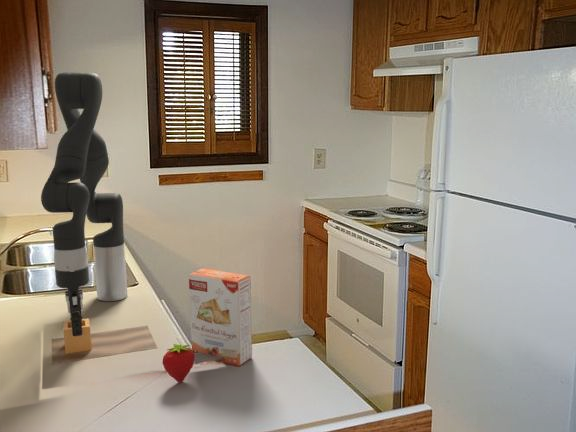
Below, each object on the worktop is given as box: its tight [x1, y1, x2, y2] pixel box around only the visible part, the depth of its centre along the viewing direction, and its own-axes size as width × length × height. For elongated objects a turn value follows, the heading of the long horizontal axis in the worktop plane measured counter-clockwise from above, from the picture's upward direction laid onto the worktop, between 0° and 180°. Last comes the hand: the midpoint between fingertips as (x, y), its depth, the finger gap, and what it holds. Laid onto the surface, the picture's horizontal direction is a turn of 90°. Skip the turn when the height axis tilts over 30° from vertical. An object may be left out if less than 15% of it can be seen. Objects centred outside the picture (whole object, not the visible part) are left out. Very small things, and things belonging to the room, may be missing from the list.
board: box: [51, 325, 158, 365], centre depth 148 cm, size 16×24×8 cm, turn 112°
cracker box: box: [188, 267, 253, 367], centre depth 141 cm, size 14×6×21 cm, turn 62°
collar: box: [62, 317, 92, 354], centre depth 146 cm, size 6×6×6 cm
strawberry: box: [162, 339, 196, 383], centre depth 130 cm, size 6×8×10 cm
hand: (76, 329), depth 145 cm, fingers open, 8 cm apart
